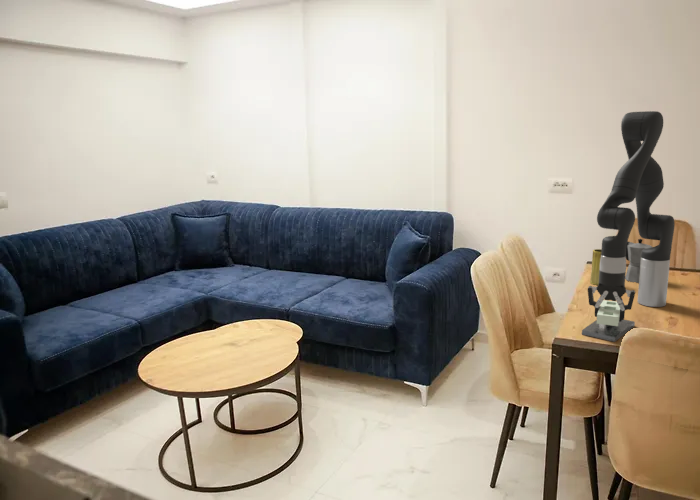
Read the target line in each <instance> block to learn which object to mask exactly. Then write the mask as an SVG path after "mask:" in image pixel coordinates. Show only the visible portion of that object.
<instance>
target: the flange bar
mask: <svg viewBox="0 0 700 500" xmlns="http://www.w3.org/2000/svg"><path fill="white" fill-rule="evenodd" d="M619 317H620V307H619V305H618V303H617V301H612V300H605V299H604V300H603V302H602V303H601V304H600V308H599V310H598V313H597V317H596V320H597V323H596V324H604V325H611V326H618V323H619Z"/></svg>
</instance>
